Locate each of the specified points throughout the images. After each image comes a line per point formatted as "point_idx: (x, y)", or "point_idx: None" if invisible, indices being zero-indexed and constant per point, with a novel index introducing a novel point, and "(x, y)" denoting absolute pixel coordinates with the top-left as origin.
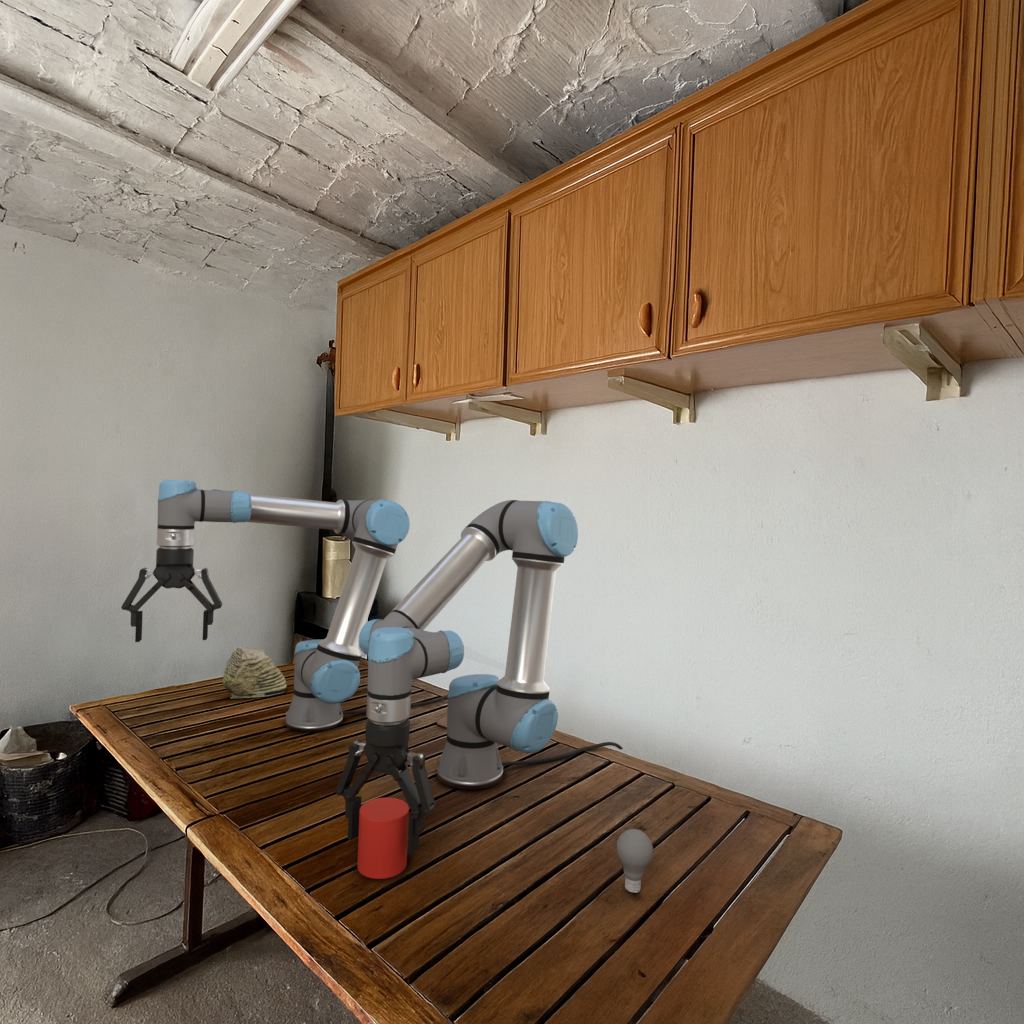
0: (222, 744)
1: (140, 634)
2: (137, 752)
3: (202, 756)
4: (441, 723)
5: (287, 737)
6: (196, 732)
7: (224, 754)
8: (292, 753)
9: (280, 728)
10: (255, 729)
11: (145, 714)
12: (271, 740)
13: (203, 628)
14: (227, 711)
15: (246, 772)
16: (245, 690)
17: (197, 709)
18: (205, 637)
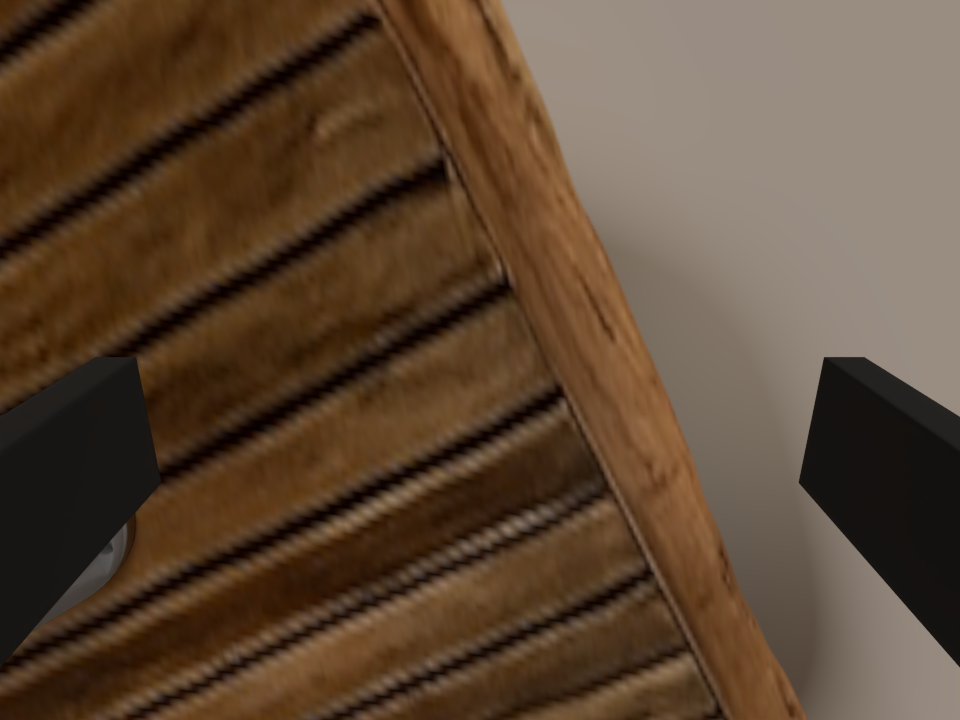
0: (324, 370)
1: (851, 453)
2: (600, 359)
3: (374, 273)
4: None
5: None
6: (433, 497)
7: (299, 274)
8: (45, 226)
9: None
10: (235, 485)
11: (621, 677)
12: (154, 371)
13: (34, 419)
14: (363, 659)
15: (181, 74)
16: None
17: (464, 691)
18: (84, 367)
